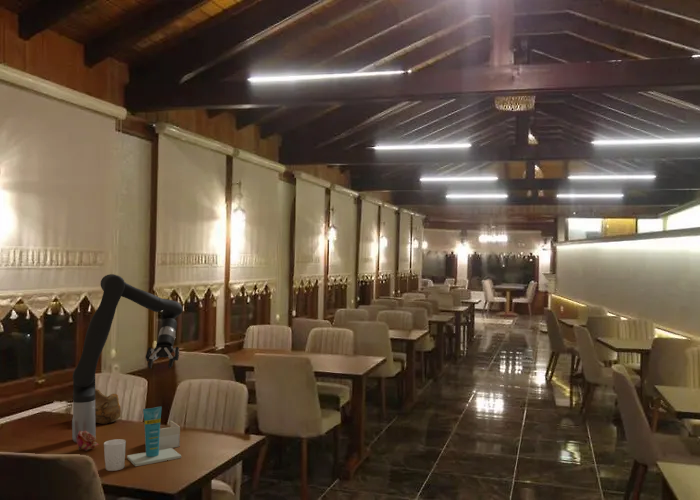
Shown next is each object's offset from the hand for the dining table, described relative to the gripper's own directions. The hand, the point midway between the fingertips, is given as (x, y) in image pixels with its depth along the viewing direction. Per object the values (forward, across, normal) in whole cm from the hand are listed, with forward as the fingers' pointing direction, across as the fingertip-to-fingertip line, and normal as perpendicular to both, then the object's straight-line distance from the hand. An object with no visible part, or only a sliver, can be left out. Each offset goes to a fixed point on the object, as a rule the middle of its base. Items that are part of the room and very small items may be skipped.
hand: (159, 367), depth 282 cm
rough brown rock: (-1, -42, +46) cm, 62 cm away
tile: (+42, +5, +3) cm, 42 cm away
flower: (+32, -27, +13) cm, 44 cm away
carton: (+29, +3, +16) cm, 33 cm away
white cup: (+50, -7, -5) cm, 51 cm away
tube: (+41, +4, +2) cm, 42 cm away
